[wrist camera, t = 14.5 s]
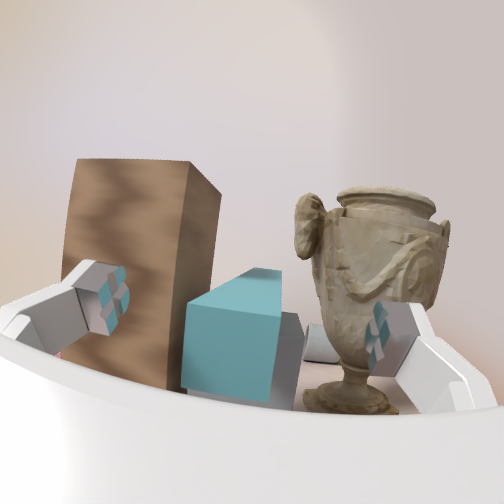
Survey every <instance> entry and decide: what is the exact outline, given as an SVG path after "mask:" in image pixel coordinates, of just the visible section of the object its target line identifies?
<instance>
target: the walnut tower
mask: <svg viewBox="0 0 504 504" xmlns="http://www.w3.org/2000/svg"><path fill="white" fill-rule="evenodd" d="M221 196H222V195H221V193H220V192H219V191H218V190H217V189H216V188H215V187H214V186H213V185H212V184H211V183H210V182H209V181H208V180H207V179H206V178H205V177H204V175H202V173H201V172H200V171H199V170H198V169H197V168H196V167H195V166H194V165H193V164H192V163H191V162H190V161H171V160H148V159H146V160H145V159H77V163H76V168H75V173H74V178H73V183H72V189H71V195H70V201H69V207H68V214H67V222H66V230H65V239H64V249H63V260H62V274H61V282H62V281H63V280H64V279H65V278H66V277H67V276H68V275H69V274H70V272H71V271H72V270H73V269H74V268H75V267H76V266H77V265H78V264H79V263H80V262H81V261H82V260H85V259H89V260H95V261H100V262H105V263H110V264H116V265H121V266H123V267H124V268H125V272H126V278H125V280H124V283H125V284H126V285H127V287H128V288H129V294H130V295H129V304H128V308H127V310H126V311H125V313H124V314H123V315H121V316H119V317H117V320H118V324H117V326H116V327H115V329H114V330H113V332H112V333H111V335H110V336H107V335H102V334H98V333H94V332H90V331H88V333H87V334H85V335H84V336H82V337H81V338H79V339H78V340H76V341H75V342H73V343H72V344H70V345H69V346H67V347H66V348H64V349H63V350H61V359H64V360H66V361H69V362H72V363H75V364H78V365H81V366H84V367H86V368H90V369H93V370H96V371H99V372H102V373H105V374H108V375H112V376H115V377H118V378H122V379H125V380H129V381H133V382H136V383H140V384H144V385H148V386H152V387H156V388H160V389H164V390H168V391H172V392H177V393H181V394H186V395H187V388H182V387H181V372H182V358H183V345H184V333H185V321H186V310H187V303H188V302H190V301H192V300H194V299H196V298H198V297H200V296H202V295H204V294H205V293H207V292H209V291H210V284H211V275H212V265H213V257H214V250H215V241H216V233H217V226H218V218H219V210H220V203H221Z"/></svg>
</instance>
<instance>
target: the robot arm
mask: <svg viewBox="0 0 504 504" xmlns="http://www.w3.org/2000/svg"><path fill="white" fill-rule="evenodd" d="M125 278H126V272H125V268H124V267H123V266H121V265H116V264H110V263H105V262H100V261H95V260H89V259H85V260H82V261H81V262H80V263H79V264H78V265H77V266H76V267H75V268H74V269H73V270H72V271H71V272H70V274H69V275H68V276H67V277H66V278H65V279H64V280H63V281H62V282H61V283H60V284H53V285H51V286H48V287H46V288H44V289H41V290H39V291H37V292H34V293H32V294H29V295H27V296H25V297H23V298H20V299H18V300H15V301H13V302H11V303H8V304H6V305H4V306H2V307H1V308H0V504H504V405H502V406H498V405H497V402H496V399H495V397H494V394H493V391H492V389H491V386H490V384H489V381H488V379H487V378H486V377H485V376H484V375H483V374H482V373H480V372H479V371H478V370H477V369H476V368H475V367H474V366H473V365H471V364H470V363H469V362H468V361H467V360H466V359H465V358H463V357H462V356H461V355H460V354H459V353H458V352H456V351H455V350H454V349H453V348H452V347H450V346H449V345H448V344H447V343H446V342H445V341H443V340H442V339H441V338H440V337H436V336H435V334H434V331H433V329H432V326H431V324H430V322H429V319H428V317H427V315H426V312H425V310H424V308H423V305H421V304H420V303H408V302H406V303H401V302H390V301H379V300H378V301H377V302H376V304H375V306H374V309H373V313H374V318H372V319H371V320H370V321H369V322H368V325H367V328H366V332H365V348H366V350H367V351H368V352H369V353H370V355H369V357H368V366H369V372H370V376H381V377H395V378H394V379H395V380H396V381H397V383H398V384H399V385H400V387H401V388H402V389H403V391H404V392H405V393H406V394H407V396H408V397H409V398H410V400H411V401H412V402H413V404H414V405H415V406H416V408H417V409H418V410H419V412H420V413H421V414H410V415H347V414H326V413H311V412H299V411H289V410H279V409H270V408H262V407H255V406H248V405H241V404H235V403H228V402H222V401H217V400H211V399H206V398H201V397H196V396H191V395H186V394H181V393H177V392H172V391H168V390H164V389H160V388H156V387H152V386H148V385H144V384H140V383H136V382H133V381H129V380H125V379H122V378H118V377H115V376H112V375H108V374H105V373H102V372H99V371H96V370H93V369H90V368H86V367H84V366H81V365H78V364H75V363H72V362H69V361H66V360H64V359H61V358H58V357H56V356H54V355H55V354H57V353H58V352H60V351H61V350H63V349H64V348H66V347H67V346H69V345H70V344H72V343H73V342H75V341H76V340H78V339H79V338H81V337H82V336H84V335H85V334H87V333H88V331H90V332H94V333H98V334H102V335H107V336H110V335H111V333H112V332H113V330H114V329H115V327H116V326H117V324H118V320H117V317H119V316H121V315H123V314H124V313H125V311H126V310H127V308H128V304H129V295H130V294H129V288H128V287H127V285H126V284H125V283H124V280H125Z"/></svg>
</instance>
